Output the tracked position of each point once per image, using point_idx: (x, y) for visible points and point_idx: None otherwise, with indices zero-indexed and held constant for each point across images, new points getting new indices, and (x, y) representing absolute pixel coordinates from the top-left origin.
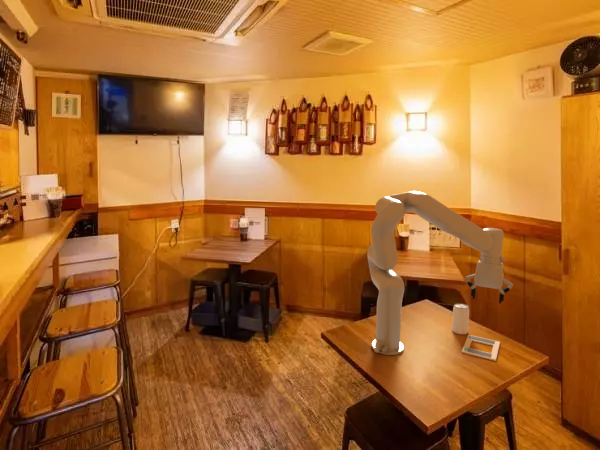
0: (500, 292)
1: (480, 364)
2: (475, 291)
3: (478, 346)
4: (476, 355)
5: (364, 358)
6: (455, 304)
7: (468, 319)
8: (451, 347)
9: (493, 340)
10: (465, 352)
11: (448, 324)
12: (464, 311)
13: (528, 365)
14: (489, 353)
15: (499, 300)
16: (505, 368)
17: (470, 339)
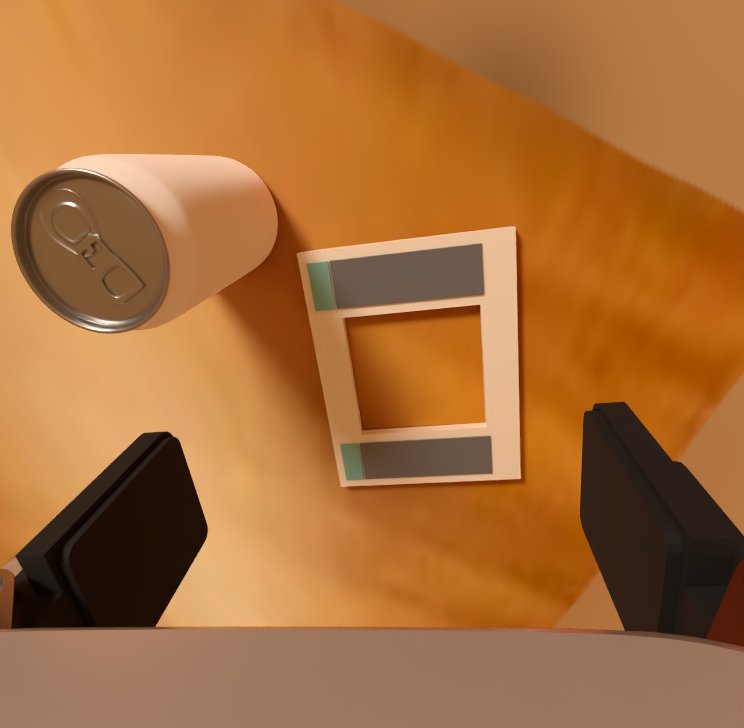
0: (670, 572)
1: (454, 538)
2: (128, 557)
3: (398, 362)
4: (418, 480)
5: None
6: (21, 246)
7: (238, 234)
8: (279, 458)
9: (469, 236)
10: (360, 484)
11: (109, 141)
12: (175, 313)
13: (695, 423)
14: (477, 432)
15: (603, 560)
16: (572, 513)
17: (333, 321)
